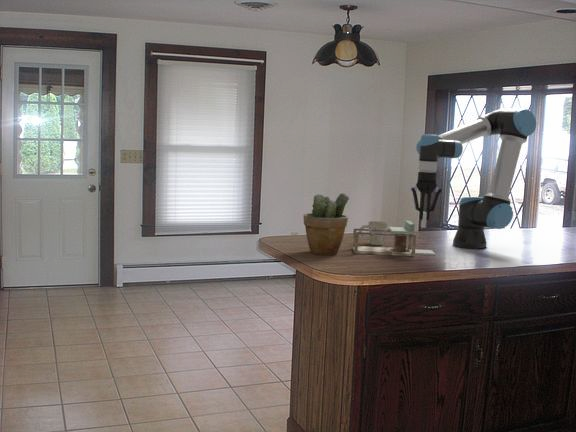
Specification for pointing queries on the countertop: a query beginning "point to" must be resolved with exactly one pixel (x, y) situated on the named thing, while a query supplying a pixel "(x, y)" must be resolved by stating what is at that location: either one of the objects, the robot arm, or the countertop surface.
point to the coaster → (424, 252)
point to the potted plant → (326, 224)
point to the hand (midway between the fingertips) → (423, 227)
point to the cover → (401, 230)
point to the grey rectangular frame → (382, 250)
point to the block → (400, 243)
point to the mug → (375, 238)
